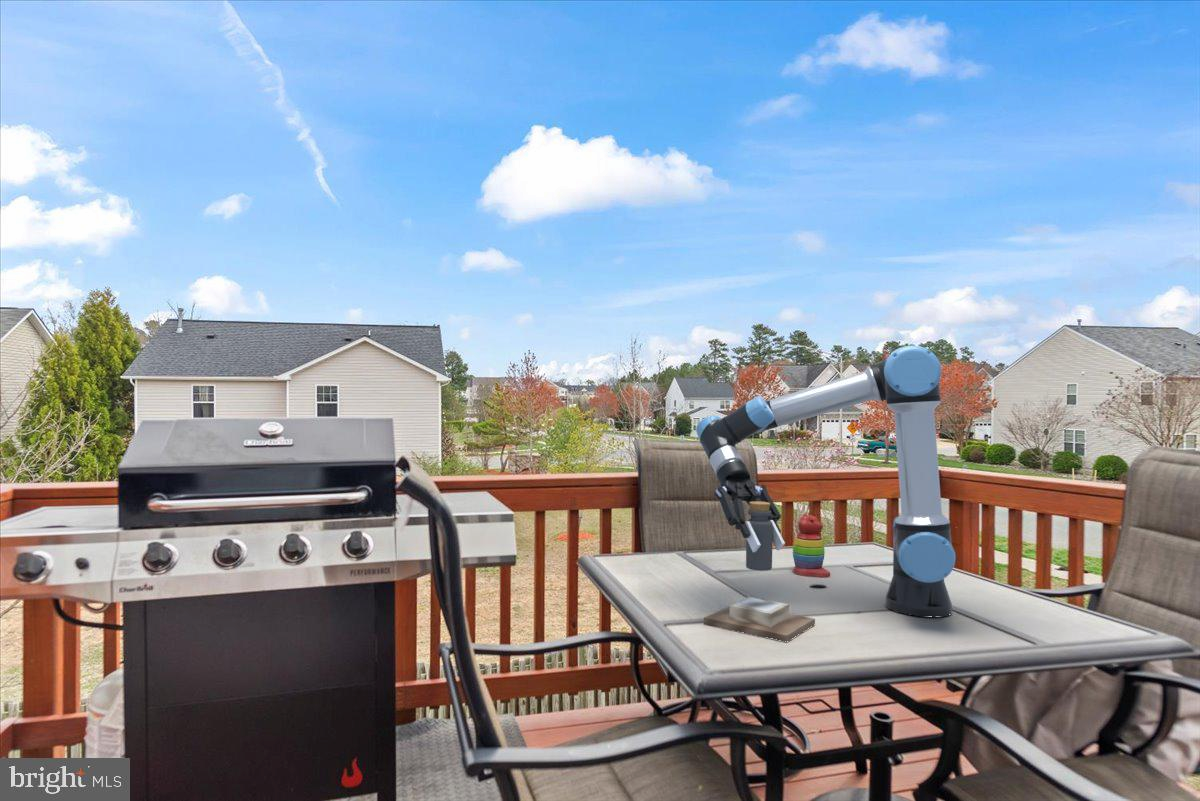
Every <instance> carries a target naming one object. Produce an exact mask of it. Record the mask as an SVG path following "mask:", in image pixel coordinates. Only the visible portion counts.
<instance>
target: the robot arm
mask: <svg viewBox="0 0 1200 801" xmlns="http://www.w3.org/2000/svg"><path fill="white" fill-rule="evenodd" d="M941 376H942V366H941V362H940V360H939V359H938V357H937V356H936V354H934V352H933V351H931V350H930V349H928V348H925V347H923V346H920V345H906V346H901V347H899V348H897V349H895V350H894V351H892V352H891V353H890V355H889V356H888V357H887V358H885V359H883V360H882V361H879V362H877V363H874V364H871V365H868V366H867V367H866V369H865V370H864V371H862V372H858V373H854V374H851V375H848V376H846V377H845V376H844V377H842V378H839V379H838V378H837V379H835V380H831V381H828V382H825V383H822V384H818V385H816V386H815V385H814V386H812V387H808V388H805V389H801V390H799V391H795V392H792V393H789V394H785V395H781V396H780V397H776V398H773V399H772V398H771V399H769V400H766V401H765V399H763V398H764V397H761V396H756V397H754V398H752V399H751V400H748V401H747V402H746V403H745V404H742V405H741V406H740V407H738V408H737V409H734V411H732V412H731V413H729V414H727V415H726V416H724V417H720V416H718V415H710V416H706V417H704V418H702V419H701V420H700V421H699V422H698V423H697V426H696V430H695V432H696V435H697V438H699V443H700V444H701V447H702V449H703V450H704V453H705V455H706V456H707V459H708V460H709V463H710V464H711V467H712V469H713V471H714V474H716V478H717V480H718V482H719V484H720V485H718V486H717V489H716V490H715V492H714V496H716V498H717V499H718V500H719V503H720V506H721V508H722V510H723V513H724V516H725V517H726V521H727V522H728V525H730V527H732V526H735V527H734V528H735V529H736V530H737V531H738V530H739V531H740V533H741V535H742V537H743V538H744V539H745V540H746V539H747V541H748V543H749V545H750V547H751V549H752V551H753V552H756V551H757V550H758V548H759V547H760V545H761V544H760V542H759V540H758V538H757V536H756V534H755V532H754V530H753V528H752V526H751V524H750V522H749V521H748V520H747V521H746V514H745V511H744V510H745V509H744V504H743V502H745V503H746V504H748V505H749V506H750V504H749V502H754V501H758V502H768V503H770V507H769V510H770V511H771V515H770V516H769V517H768V519H769V520H770V521H771V522H772V524H773V534H772V544H773V545H774V547H775V550H776V551H781V549H782V548H783V547H784V546H785V544H786V542H785V541H784V539H783V536H782V535H781V533H782V531H781V529H780V527H779V525H778V522H779V520H780V519H781V518H782V515H781V513H780V512H779V510H778V508H777V506H776V504H775V503H774V501H773V500H772V498H771V496H770V495H769V493H768V489H767V486H766V484H761V486H759V485H756V484H755V483H754V481H752V480H751V474H750V471H749V469H748V468H747V466H746V463H745V462H744V460H743V458H742V456H741V453H740V452H739V451H738V448H737V446H736V445H738V444H739V443H741V442H743V441H744V440H746V439H747V438H750V437H751V436H753V435H755V434H761V433H763V432H765V431H768V430H772V429H776V428H779V427H782V426H786V425H789V424H790V425H791V424H792V423H796V422H800V421H802V420H806V419H809V418H814V417H816V416H821V415H824V414H827V413H832V412H834V411H838V410H841V409H845V408H848V407H852V406H855V405H859V404H862V403H866V402H869V401H873V400H875V401H877V402H883V401H885V403H886V407H888V408H889V409H890V410H892V412H893V415H894V427H895V428H894V430H895V441H896V442H895V443H896V444H895V445H896V454H897V455H896V456H897V457H896V458H897V470H898V482H899V484H898V485H899V497H900V498H899V499H900V510H901V511H900V512H901V513H900V515H898V516H896V517H895V518H894V519H893V524H892V530H893V533H892V535H893V537H892V539H893V541H892V542H893V546H892V547H893V548H892V550H893V553H892V554H893V556H892V559H893V560H892V561H893V562H892V578H891V581H890V583H889V587H888V589H887V592H886V595H885V607H886V608H887V607H888V608H889V609H888V608H887V609H888V610H890V609H892V610H895V611H898V612H901V613H900V614H902V613H905V614H904V615H906V614H911V615H916V616H915V617H918V616H932V617H931V618H936V617H935V616H946V617H948V616H947V615H949V614H951V613H952V614H953V605H952V604H953V603H952V601H951V598H950V595H949V591H948V588H947V586H946V582H945V579H946V578H947V577H948V576H950V574H951V573H952V571H953V570H954V568H955V564H956V557H957V556H956V551H955V549H954V547H953V545H952V534H951V531H952V530H951V521H950V519H948V518H947V517H946V516H945V515H944V514H943V511H942V498H941V485H940V472H939V470H940V469H939V459H938V444H937V433H936V432H937V430H936V420H935V409H936V408H937V407H938V406H939V405H940V404H941V402H942V401H941V387H940V380H941ZM892 610H891V611H892ZM895 611H894V612H895ZM898 612H897V613H898ZM952 614H951V615H952ZM911 615H910V616H911ZM949 616H950V615H949Z"/></svg>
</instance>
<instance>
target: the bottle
mask: <svg viewBox="0 0 1200 801" xmlns="http://www.w3.org/2000/svg"><path fill="white" fill-rule="evenodd" d="M749 504H750V505H749V508H750V509H748V513H747V514H748V515H749V516H750V518H749V519H748V520H747V521H749V522H750V524H751V526H752V528H753V530H754V532H755V534H756V536H757V538H758V540H759V542H760V544H761V545H760V547H759V548H758V550H757V551H756V552H753V551H752V549H751V547H750V545H749V543H748V541H747V539H746V538H745V540H746V541H745V542H746V543H745V544H746V546H745V551H746V552H745V568H746V569H748V570H752V571H760V572H762V571H770V570H772V568H773V541H772V534H773V524H772V522H771V521H770V520H769V519H768V517H769V516H770V515H771V511H770V510H769V507H770V503H768V502H758V501H754V502H749Z"/></svg>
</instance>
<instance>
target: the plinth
mask: <svg viewBox="0 0 1200 801" xmlns="http://www.w3.org/2000/svg"><path fill="white" fill-rule="evenodd" d="M814 624H815V625H816V618H814V617H808V616H803V615H800V614H799V615H797V614H793V613H790V604H789V603H785V602H779V601H773V600H768V599H762V598H757V597H753V596H748V597H746V598H743V599H742V600H739V601H737V602H735V603H732V604H730V605H728V606H726V607H724V608H722V609H720V610H717V611H715V612H713V613H711V614H709V615H706V616H704V617H703V625H705V626H710V627H713V628H714V627H716V628H720V629H725V630H728V631H732V630H734V631H733V632H737V631H739V632H738V633H741V632H744V633H743V634H746V633H748V634H747V635H750V634H752V635H751V636H754V635H757V636H756V637H759V636H762V637H761V638H763V637H768V638H773V639H777V640H781V641H786V642H787V641H789V640H790V641H792V640H793V639H792V638H794V637H795V636H797V635H798V634H800V633H802V632H803V631H805V630H807V629H808V628H810V627H811V626H813V625H814ZM813 627H814V626H813ZM811 628H812V627H811ZM811 628H810V629H811ZM808 630H809V629H808ZM808 630H807V631H808ZM805 632H806V631H805ZM803 633H804V632H803ZM803 633H802V634H803ZM800 635H801V634H800ZM798 636H799V635H798ZM798 636H797V637H798ZM768 638H767V639H768ZM795 638H796V637H795ZM795 638H794V639H795ZM791 639H792V640H791ZM777 640H776V641H777ZM781 641H780V642H781ZM790 641H789V642H790ZM786 642H785V643H786ZM787 643H788V642H787Z"/></svg>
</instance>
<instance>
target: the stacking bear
mask: <svg viewBox="0 0 1200 801" xmlns="http://www.w3.org/2000/svg"><path fill="white" fill-rule="evenodd" d="M797 526H798V531H799V532H798V533H797V534H796V537H795V538H794V541H793V546H792V559H793V563H794V567H793V570H792V572H793V573H794V574H795V573H796V574H795V575H799V576H802V575H803V577H810V576H812V577H811V578H829V577H831V573H830V571H829V570H827V569H825V568H824V567H823V565H824V560H825V553H826V552H825V546H824V541H823V539H822V538H823V537H822V536H821V535H820V533H821V532H822V530H823V528H824V524H822V522H821V521H820V520H819V518H818V517H817V516H815V515H813V514H812V515H811V514H807V513H804V514H803V515H802V516H801V517H800V518H799V520H798V522H797Z"/></svg>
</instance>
